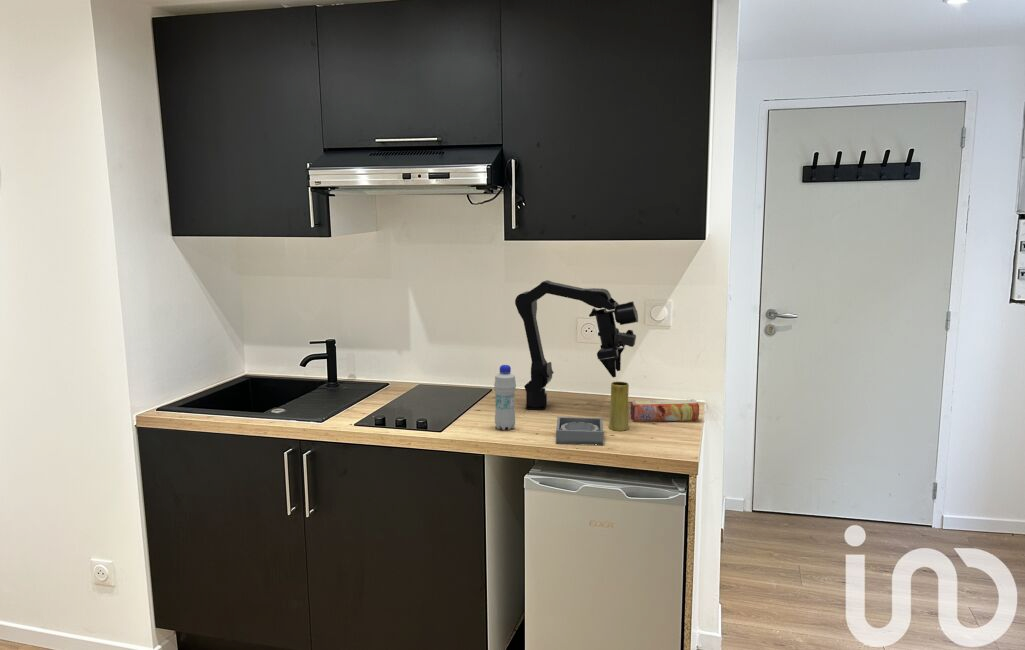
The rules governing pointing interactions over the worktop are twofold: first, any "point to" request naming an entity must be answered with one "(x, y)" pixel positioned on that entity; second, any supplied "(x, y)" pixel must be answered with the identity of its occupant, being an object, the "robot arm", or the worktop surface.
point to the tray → (579, 432)
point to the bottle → (505, 398)
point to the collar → (579, 426)
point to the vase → (619, 406)
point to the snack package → (665, 410)
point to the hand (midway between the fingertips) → (616, 373)
